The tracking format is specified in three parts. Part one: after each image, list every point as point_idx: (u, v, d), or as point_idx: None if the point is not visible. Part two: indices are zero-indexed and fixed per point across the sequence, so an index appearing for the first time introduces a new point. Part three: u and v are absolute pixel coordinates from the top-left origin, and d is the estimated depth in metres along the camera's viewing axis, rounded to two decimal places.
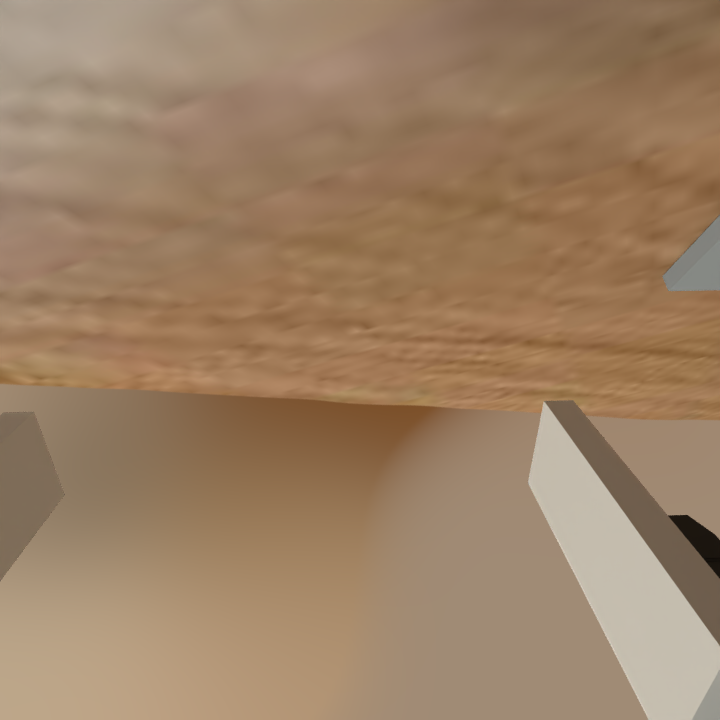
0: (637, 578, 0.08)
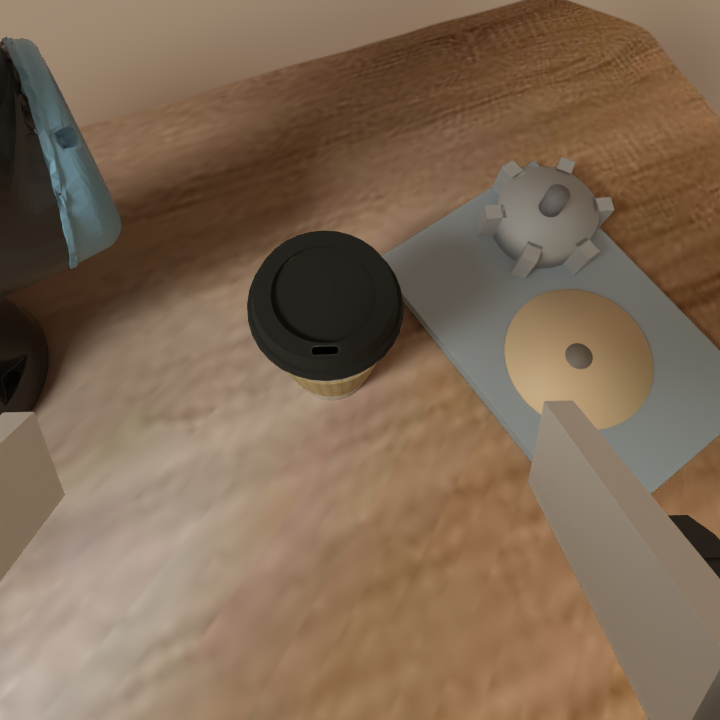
0: (637, 578, 0.08)
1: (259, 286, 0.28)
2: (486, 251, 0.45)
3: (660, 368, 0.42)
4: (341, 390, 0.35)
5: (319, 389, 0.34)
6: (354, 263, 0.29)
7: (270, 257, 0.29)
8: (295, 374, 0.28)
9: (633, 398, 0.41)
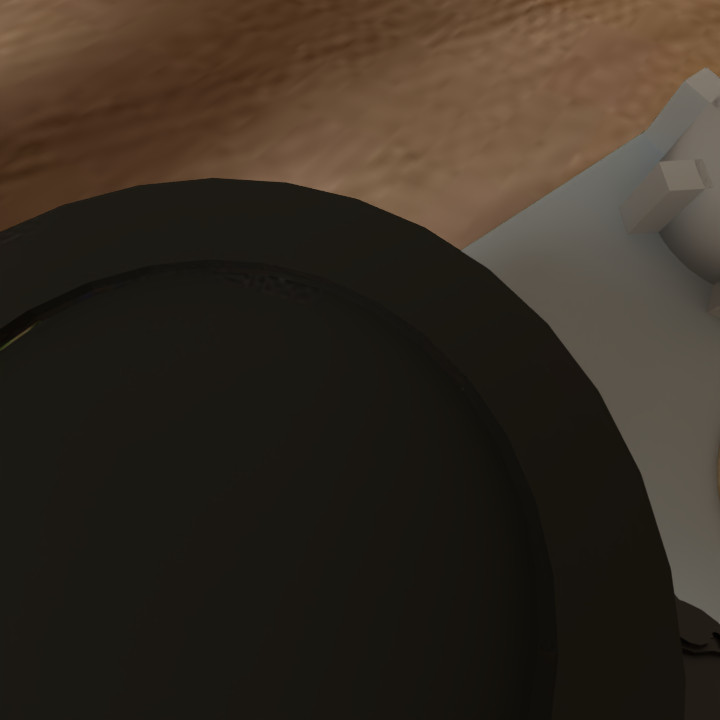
0: None
1: None
2: (647, 264, 0.21)
3: None
4: None
5: None
6: (388, 362, 0.05)
7: None
8: None
9: None
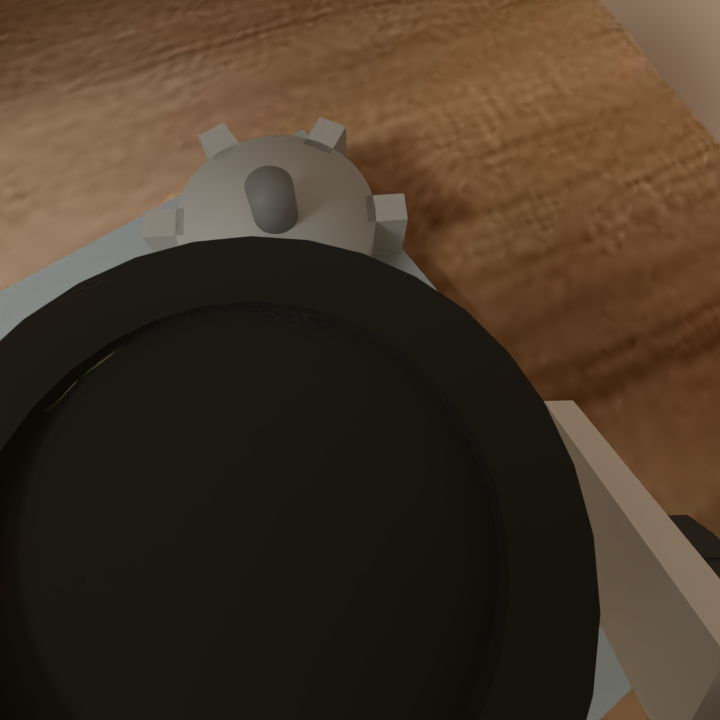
0: (637, 578, 0.08)
1: None
2: None
3: None
4: None
5: None
6: (387, 381, 0.06)
7: None
8: None
9: None
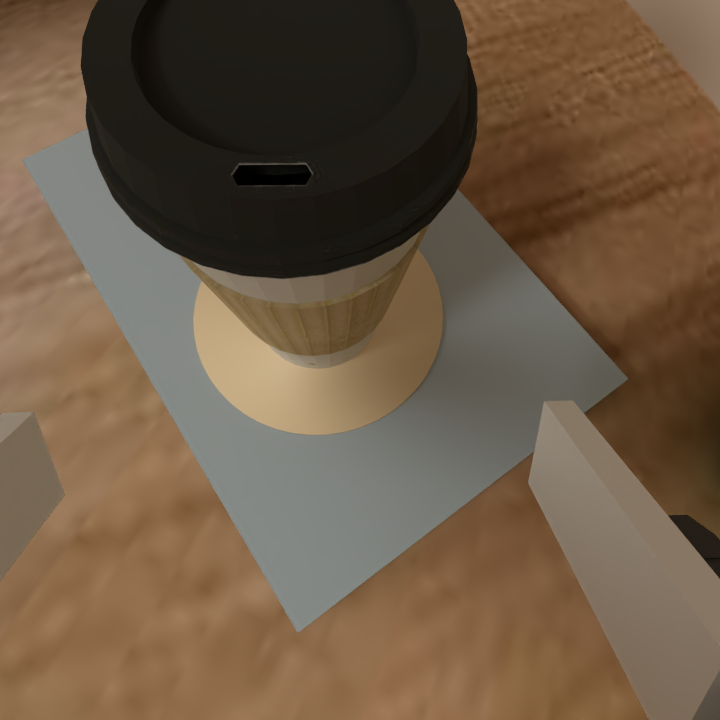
0: (637, 578, 0.08)
1: (104, 20, 0.11)
2: None
3: (457, 331, 0.25)
4: (329, 337, 0.17)
5: (283, 331, 0.16)
6: None
7: None
8: (200, 260, 0.11)
9: (400, 381, 0.24)
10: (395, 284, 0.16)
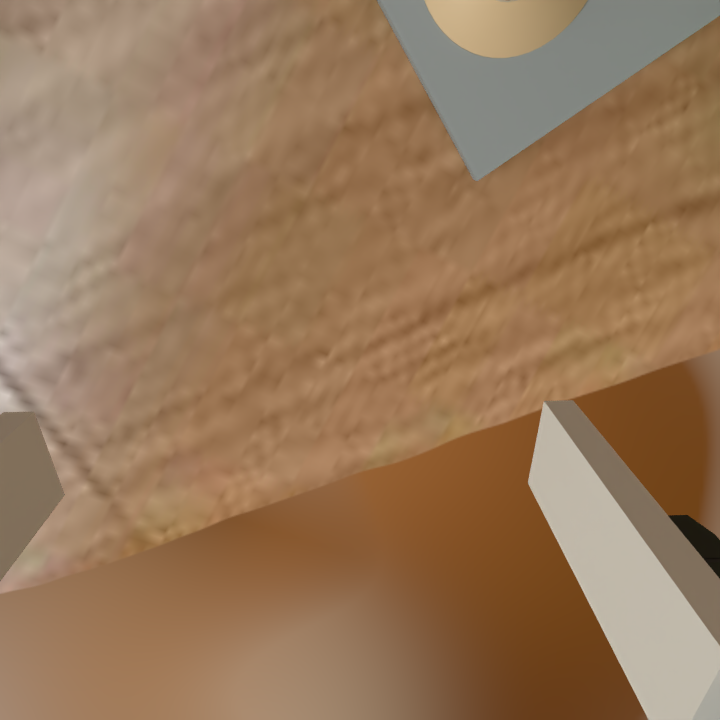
0: (637, 578, 0.08)
1: None
2: None
3: None
4: None
5: None
6: None
7: None
8: None
9: (562, 13, 0.34)
10: None
